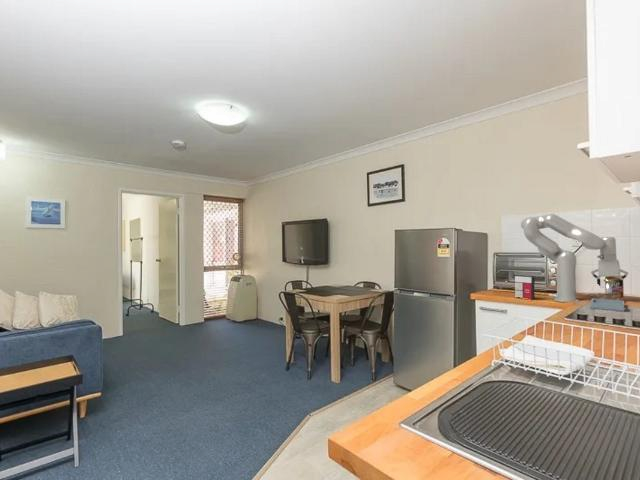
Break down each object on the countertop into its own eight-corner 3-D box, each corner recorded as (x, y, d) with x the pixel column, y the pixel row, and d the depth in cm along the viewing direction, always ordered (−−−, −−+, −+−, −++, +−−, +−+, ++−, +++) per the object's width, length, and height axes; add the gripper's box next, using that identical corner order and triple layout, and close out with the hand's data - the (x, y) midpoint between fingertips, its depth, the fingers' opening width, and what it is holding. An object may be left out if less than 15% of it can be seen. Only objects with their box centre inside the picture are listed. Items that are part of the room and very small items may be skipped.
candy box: (605, 298, 225) (605, 275, 225) (605, 297, 228) (604, 274, 229) (623, 299, 220) (623, 275, 220) (622, 298, 223) (622, 275, 224)
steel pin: (603, 301, 207) (603, 279, 208) (604, 300, 211) (603, 279, 211) (613, 302, 204) (613, 280, 204) (613, 301, 208) (613, 279, 208)
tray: (590, 308, 191) (590, 302, 191) (592, 304, 204) (592, 298, 204) (623, 311, 181) (623, 305, 181) (624, 306, 195) (624, 300, 195)
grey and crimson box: (514, 298, 229) (513, 275, 229) (517, 297, 231) (516, 275, 232) (532, 300, 220) (531, 276, 220) (535, 299, 223) (534, 276, 223)
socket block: (597, 303, 207) (597, 294, 207) (598, 301, 215) (598, 293, 215) (619, 305, 200) (619, 296, 201) (619, 302, 208) (619, 294, 208)
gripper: (589, 257, 211) (591, 285, 210) (627, 257, 199) (629, 287, 199) (590, 257, 216) (592, 284, 216) (627, 257, 205) (629, 286, 204)
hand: (609, 285), depth 207 cm, fingers open, 9 cm apart
